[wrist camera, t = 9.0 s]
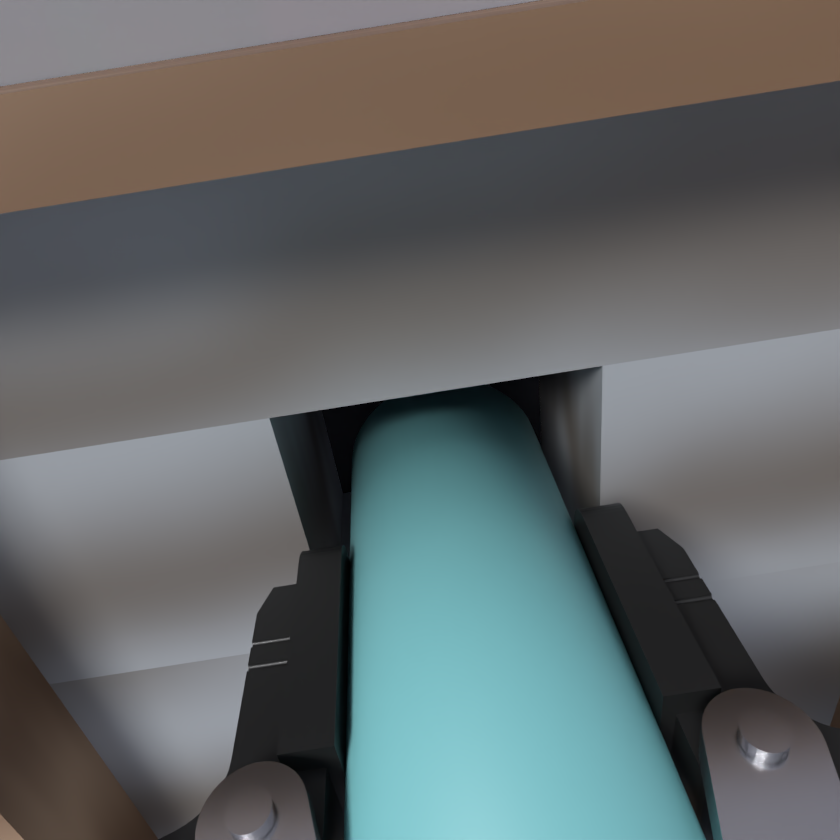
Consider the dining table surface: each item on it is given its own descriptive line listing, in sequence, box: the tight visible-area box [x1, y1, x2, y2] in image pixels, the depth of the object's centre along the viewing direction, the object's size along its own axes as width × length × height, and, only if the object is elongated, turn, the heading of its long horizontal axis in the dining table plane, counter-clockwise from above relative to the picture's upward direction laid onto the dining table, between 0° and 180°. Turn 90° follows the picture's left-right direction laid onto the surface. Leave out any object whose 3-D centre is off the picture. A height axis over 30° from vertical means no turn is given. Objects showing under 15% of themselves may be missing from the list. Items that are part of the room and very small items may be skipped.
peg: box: [344, 384, 706, 840], centre depth 9 cm, size 4×4×11 cm
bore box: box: [0, 0, 840, 840], centre depth 14 cm, size 20×20×8 cm
